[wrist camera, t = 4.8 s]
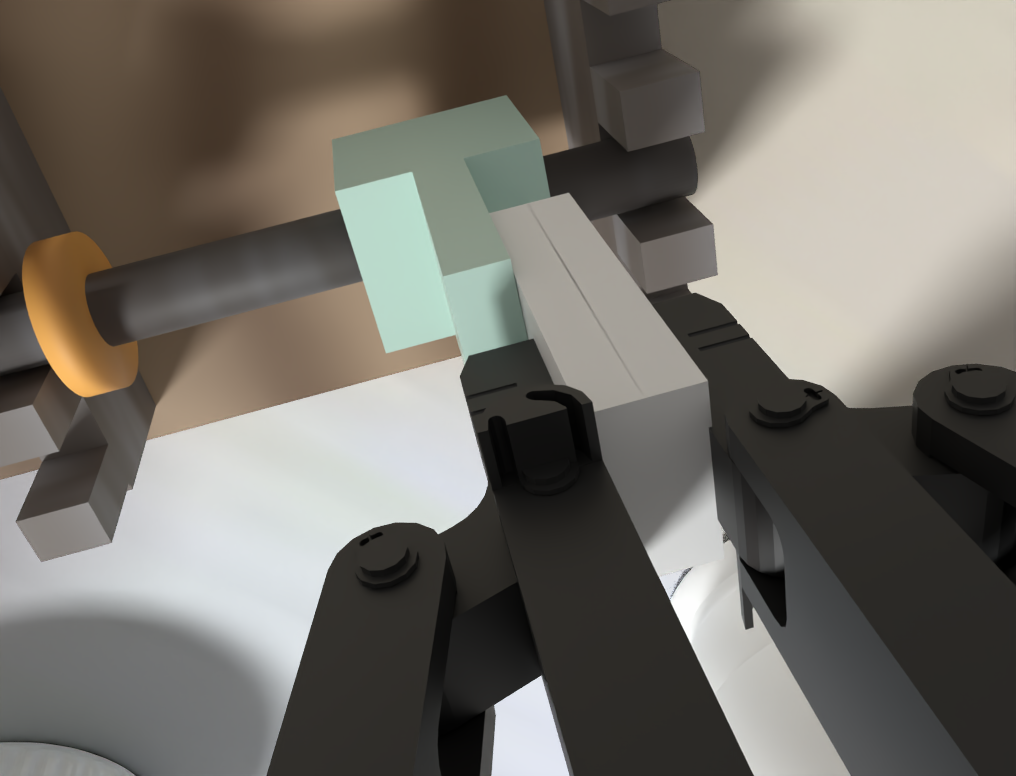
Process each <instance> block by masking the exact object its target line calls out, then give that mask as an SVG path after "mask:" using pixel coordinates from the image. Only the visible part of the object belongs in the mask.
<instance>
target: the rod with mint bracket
mask: <svg viewBox="0 0 1016 776" xmlns="http://www.w3.org/2000/svg"><path fill="white" fill-rule="evenodd" d="M666 1H670V0H0V480H1V479H4V478H8V477H12V476H15V475H19V474H23V473H27V472H30V471H34V470H38V469H39V470H38V472H37V475H36V477H35V479H34V482H33V484H32V486H31V488H30V491H29V493H28V495H27V497H26V500H25V502H24V504H23V506H22V509H21V511H20V513H19V515H18V518H17V520H16V523H17V525H18V526H19V528H20V530H21V531H22V533H23V534H24V536H25V537H26V539H27V541H28V542H29V544H30V545H31V547H32V548H33V550H34V551H35V553H36V555H37V556H38V558H39V559H40V561H41V562H44V561H47V560H51V559H54V558H58V557H62V556H65V555H69V554H73V553H76V552H80V551H84V550H87V549H91V548H95V547H98V546H102V545H106V544H109V543H112V540H113V536H114V533H115V530H116V526H117V523H118V519H119V516H120V512H121V509H122V505H123V502H124V499H125V495H126V492H127V491H128V490H131V489H133V485H134V482H135V478H136V475H137V471H138V468H139V464H140V461H141V457H142V454H143V450H144V447H145V443H146V440H150V439H153V438H157V437H161V436H164V435H168V434H172V433H176V432H179V431H183V430H187V429H190V428H194V427H198V426H202V425H205V424H209V423H213V422H217V421H220V420H224V419H228V418H231V417H235V416H239V415H243V414H246V413H250V412H254V411H258V410H261V409H265V408H269V407H272V406H276V405H280V404H284V403H287V402H291V401H295V400H298V399H302V398H306V397H310V396H313V395H317V394H321V393H325V392H328V391H332V390H336V389H339V388H343V387H347V386H351V385H354V384H358V383H362V382H365V381H369V380H373V379H377V378H380V377H384V376H388V375H392V374H395V373H399V372H403V371H406V370H410V369H414V368H418V367H421V366H425V365H429V364H433V363H436V362H440V361H444V360H447V359H451V358H455V357H459V356H461V352H460V349H459V345H458V342H457V338H456V335H453V336H449V337H446V338H442V339H438V340H435V341H431V342H427V343H423V344H420V345H416V346H412V347H408V348H405V349H401V350H397V351H393V352H390V353H386V352H385V349H384V345H383V342H382V339H381V336H380V333H379V330H378V326H377V323H376V320H375V317H374V314H373V311H372V307H371V304H370V301H369V298H368V295H367V292H366V289H365V285H364V282H363V279H362V276H361V273H360V270H359V266H358V263H357V260H356V257H355V254H354V251H353V247H352V244H351V241H350V238H349V235H348V232H347V228H346V225H345V222H344V219H343V216H342V213H341V209H340V206H339V203H338V200H337V197H336V194H335V186H334V168H333V150H332V139H336V138H340V137H344V136H348V135H352V134H356V133H360V132H364V131H368V130H372V129H375V128H379V127H383V126H387V125H391V124H395V123H399V122H403V121H407V120H411V119H415V118H418V117H422V116H426V115H430V114H434V113H438V112H442V111H446V110H450V109H454V108H458V107H462V106H465V105H469V104H473V103H477V102H481V101H485V100H489V99H493V98H497V97H501V96H505V95H507V96H508V98H509V99H510V100H511V102H512V103H513V104H514V106H515V107H516V108H517V110H518V111H519V112H520V114H521V115H522V116H523V118H524V119H525V120H526V122H527V123H528V124H529V125H530V127H531V128H532V129H533V131H534V132H535V133H536V135H537V136H538V137H539V139H540V144H541V149H542V155H543V160H544V165H545V171H546V176H547V181H548V187H549V192H550V197H554V196H558V195H562V194H566V193H569V194H570V195H571V196H572V198H573V199H574V200H575V202H576V203H577V204H578V206H579V207H580V208H581V210H582V211H583V212H584V214H585V215H586V217H587V218H588V219H589V221H590V222H591V223H592V225H593V226H594V227H595V229H596V230H597V231H598V233H599V234H600V236H601V237H602V238H603V240H604V241H605V242H606V244H607V245H608V246H609V248H610V249H611V250H612V252H613V253H614V254H615V256H616V257H617V259H618V260H619V261H620V263H621V264H622V265H623V267H624V268H625V269H626V271H627V272H628V273H629V275H630V276H631V277H632V279H633V280H634V282H635V283H636V284H637V286H638V287H639V288H640V290H641V291H642V292H643V294H644V295H645V296H646V298H647V299H648V300H649V302H650V303H651V304H655V303H659V302H663V301H666V300H670V299H674V298H678V297H681V296H685V295H689V294H692V293H691V292H690V291H689V290H688V286H687V283H690V282H693V281H697V280H701V279H705V278H708V277H712V276H716V275H718V273H717V262H716V250H715V239H714V228H713V224H712V223H711V222H710V221H709V220H708V219H707V218H706V217H705V216H704V215H703V214H702V213H701V212H700V211H699V210H698V209H697V208H696V207H695V206H694V205H693V204H692V203H690V202H689V201H688V200H687V199H686V198H685V197H684V196H688V195H692V194H694V193H695V191H696V189H697V182H698V173H697V163H696V157H695V153H694V149H693V145H692V142H691V139H690V137H689V136H691V135H695V134H699V133H702V132H705V126H704V115H703V104H702V93H701V81H700V71H698V70H697V69H695V68H693V67H692V66H690V65H688V64H687V63H685V62H683V61H682V60H680V59H678V58H677V57H675V56H673V55H671V54H670V53H668V52H666V51H665V50H663V49H662V47H661V38H660V29H659V20H658V10H657V4H658V3H662V2H666Z"/></svg>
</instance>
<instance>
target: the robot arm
mask: <svg viewBox="0 0 1016 776" xmlns="http://www.w3.org/2000/svg"><path fill="white" fill-rule="evenodd" d="M489 214H490V216H491V218H492V221H493V223H494V225H495V227H496V229H497V231H498V233H499V235H500V238H501V240H502V242H503V244H504V246H505V248H506V250H507V253H508V255H509V257H510V259H511V264H512V268H513V273H514V277H515V282H516V287H517V291H518V296H519V300H520V305H521V309H522V314H523V319H524V323H525V328H526V332H527V337H528V340H526V341H522V342H518V343H514V344H511V345H507V346H503V347H499V348H496V349H492V350H488V351H484V352H481V353H477V354H473V355H469V356H468V358H467V361H466V363H465V365H464V368H463V370H462V373H461V375H460V379H461V383H462V387H463V391H464V394H465V398H466V402H467V406H468V409H469V413H470V417H471V421H472V425H473V428H474V432H475V436H476V440H477V443H478V447H479V451H480V455H481V458H482V462H483V466H484V469H485V473H486V476H487V480H488V487H487V490H486V493H485V496H484V498H483V499H482V501H481V502H480V504H479V505H478V507H477V508H476V509H475V510H474V511H473V512H472V513H471V514H470V515H469V516H468V517H467V518H465V519H464V520H462V521H461V522H459V523H458V524H456V525H455V526H453V527H451V528H449V529H448V530H446V531H444V532H442V533H440V534H437V533H436V532H435V531H434V529H431V528H428V527H426V526H423V525H420V524H418V523H392V524H388V525H384V526H380V527H376V528H373V529H371V530H369V531H367V532H365V533H363V534H361V535H359V536H358V537H356V538H354V539H352V540H351V541H350V542H349V543H348V544H347V545H346V546H345V547H344V548H343V549H341V550H340V551H339V552H338V553H337V555H336V556H335V558H334V560H333V562H332V564H331V566H330V567H329V569H328V572H327V575H326V578H325V582H324V585H323V588H322V592H321V595H320V599H319V602H318V605H317V609H316V612H315V615H314V619H313V622H312V625H311V629H310V632H309V635H308V639H307V642H306V645H305V649H304V652H303V655H302V659H301V662H300V665H299V669H298V672H297V675H296V679H295V682H294V685H293V689H292V692H291V696H290V699H289V702H288V706H287V709H286V712H285V716H284V719H283V722H282V726H281V729H280V732H279V736H278V739H277V742H276V746H275V749H274V752H273V756H272V759H271V762H270V766H269V769H268V772H267V776H491V772H492V758H493V745H494V731H495V717H496V715H495V709H494V705H495V704H496V703H498V702H499V701H501V700H503V699H504V698H506V697H507V696H509V695H511V694H512V693H514V692H515V691H517V690H519V689H520V688H522V687H523V686H525V685H527V684H528V683H530V682H531V681H533V680H535V679H536V678H538V677H539V676H541V675H542V679H543V682H544V686H545V690H546V693H547V697H548V700H549V704H550V707H551V711H552V714H553V718H554V722H555V725H556V729H557V732H558V736H559V739H560V743H561V746H562V750H563V753H564V757H565V761H566V764H567V768H568V771H569V775H570V776H754V775H753V773H752V771H751V769H750V767H749V764H748V762H747V760H746V758H745V756H744V754H743V752H742V750H741V748H740V746H739V744H738V742H737V739H736V737H735V735H734V733H733V731H732V729H731V727H730V725H729V723H728V721H727V719H726V716H725V714H724V712H723V710H722V708H721V706H720V704H719V702H718V700H717V698H716V696H715V693H714V691H713V689H712V687H711V685H710V683H709V681H708V679H707V677H706V675H705V673H704V671H703V668H702V666H701V664H700V662H699V660H698V658H697V656H696V654H695V652H694V650H693V648H692V645H691V643H690V641H689V639H688V637H687V635H686V633H685V631H684V629H683V627H682V625H681V622H680V620H679V618H678V616H677V614H676V612H675V610H674V608H673V606H672V604H671V602H670V600H669V597H668V595H667V593H666V591H665V589H664V587H663V585H662V583H661V581H660V579H659V577H660V576H664V575H667V574H671V573H674V572H678V571H681V570H685V569H688V568H692V567H695V566H699V565H702V564H706V563H710V562H713V561H717V560H720V559H724V558H725V556H724V546H723V535H722V527H723V529H724V531H725V532H726V534H727V536H728V537H729V539H730V541H731V542H732V544H733V546H734V547H735V549H736V556H737V568H738V580H739V591H740V603H741V615H742V619H743V623H744V627H745V630H747V629H750V628H754V623H753V610H752V609H753V607H754V609H755V610H756V612H757V614H758V616H759V617H760V619H761V621H762V623H763V624H764V626H765V628H766V630H767V631H768V633H769V635H770V636H771V638H772V640H773V642H774V643H775V645H776V647H777V649H778V650H779V652H780V654H781V656H782V657H783V659H784V661H785V663H786V664H787V666H788V668H789V669H790V671H791V673H792V675H793V676H794V678H795V680H796V682H797V683H798V685H799V687H800V689H801V690H802V692H803V694H804V695H805V697H806V699H807V701H808V702H809V704H810V706H811V708H812V709H813V711H814V713H815V715H816V716H817V718H818V720H819V721H820V723H821V725H822V727H823V728H824V730H825V732H826V734H827V735H828V737H829V739H830V741H831V742H832V744H833V746H834V747H835V749H836V751H837V753H838V754H839V756H840V758H841V760H842V761H843V763H844V765H845V767H846V768H847V770H848V772H849V773H850V775H851V776H1016V372H1014V371H1011V370H1008V369H1005V368H1002V367H997V366H989V365H981V364H967V365H955V366H950V367H946V368H943V369H940V370H936V371H933V372H931V373H930V374H928V375H927V376H926V377H924V378H923V379H921V380H920V381H919V382H918V384H917V386H916V389H915V391H914V393H913V406H901V407H886V408H847V407H846V406H845V405H844V404H843V403H842V401H841V400H840V399H839V398H838V397H837V396H836V395H834V394H833V393H832V392H830V391H829V390H827V389H826V388H824V387H823V386H821V385H817V384H814V383H811V382H807V381H804V380H794V379H788V378H787V376H786V375H785V374H784V373H783V372H782V371H781V370H780V369H779V367H778V366H777V365H776V364H775V363H774V362H773V361H772V360H771V358H770V357H769V356H768V355H767V354H766V353H765V352H764V351H763V349H762V348H761V347H760V346H759V345H758V344H757V343H756V342H755V341H754V339H753V338H750V337H749V334H748V333H747V332H746V330H745V329H744V328H743V327H742V326H741V325H740V324H737V320H736V319H735V318H734V317H733V316H732V315H731V314H730V312H729V311H728V310H727V309H726V308H725V307H724V306H723V305H722V304H721V303H719V302H716V301H714V300H711V299H709V298H707V297H704V296H702V295H700V294H697V293H693V294H689V295H685V296H681V297H678V298H674V299H670V300H666V301H663V302H659V303H655V304H651V303H650V302H649V300H648V299H647V298H646V296H645V295H644V294H643V292H642V291H641V290H640V288H639V287H638V286H637V284H636V283H635V282H634V280H633V279H632V277H631V276H630V275H629V273H628V272H627V271H626V269H625V268H624V267H623V265H622V264H621V263H620V261H619V260H618V259H617V257H616V256H615V254H614V253H613V252H612V250H611V249H610V248H609V246H608V245H607V244H606V242H605V241H604V240H603V238H602V237H601V236H600V234H599V233H598V231H597V230H596V229H595V227H594V226H593V225H592V223H591V222H590V221H589V219H588V218H587V217H586V215H585V214H584V212H583V211H582V210H581V208H580V207H579V206H578V204H577V203H576V202H575V200H574V199H573V198H572V196H571V195H570V194H569V193H566V194H562V195H558V196H554V197H550V198H546V199H542V200H538V201H535V202H531V203H527V204H523V205H519V206H515V207H511V208H507V209H504V210H500V211H496V212H492V213H489Z"/></svg>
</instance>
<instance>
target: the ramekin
mask: <svg viewBox="0 0 1016 776" xmlns="http://www.w3.org/2000/svg"><path fill="white" fill-rule="evenodd" d="M0 776H135V775H134V774H133V773H131V772H130V771H129V770H127V769H126V768H124V767H122V766H120V765H119V764H116V763H114V762H112V761H110V760H108V759H106V758H103V757H100V756H98V755H95V754H92V753H89V752H86V751H82V750H79V749H75V748H71V747H65V746H58V745H53V744H45V743H32V742H1V743H0Z"/></svg>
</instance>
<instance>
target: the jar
mask: <svg viewBox="0 0 1016 776" xmlns="http://www.w3.org/2000/svg"><path fill="white" fill-rule="evenodd" d="M723 546H724V556H725V558H724V559H720V560H717V561H713V562H710V563H706V564H702V565H699V566H695V567H693V568H692V569H691V570H690V571H689V572H688V573H687V575H686V576H685V577H684V578H683V580H682V581H681V582H680V584H679V586H678V587H677V589H676V590H675V592H674V594H673V596H672V598H671V601H670V602H671V604H672V606H673V608H674V610H675V612H676V614H677V616H678V618H679V620H680V622H681V625H682V627H683V629H684V631H685V633H686V635H687V637H688V639H689V641H690V643H691V645H692V648H693V650H694V652H695V654H696V656H697V658H698V660H699V662H700V664H701V666H702V668H703V671H704V673H705V675H706V677H707V679H708V681H709V683H710V685H711V687H712V689H713V691H714V693H715V696H716V698H717V700H718V702H719V704H720V706H721V708H722V710H723V712H724V714H725V716H726V719H727V721H728V723H729V725H730V727H731V729H732V731H733V733H734V735H735V737H736V739H737V742H738V744H739V746H740V748H741V750H742V752H743V754H744V756H745V758H746V760H747V762H748V764H749V767H750V769H751V771H752V773H753V775H754V776H851V775H850V773H849V772H848V770H847V768H846V767H845V765H844V763H843V761H842V760H841V758H840V756H839V754H838V753H837V751H836V749H835V747H834V746H833V744H832V742H831V741H830V739H829V737H828V735H827V734H826V732H825V730H824V728H823V727H822V725H821V723H820V721H819V720H818V718H817V716H816V715H815V713H814V711H813V709H812V708H811V706H810V704H809V702H808V701H807V699H806V697H805V695H804V694H803V692H802V690H801V689H800V687H799V685H798V683H797V682H796V680H795V678H794V676H793V675H792V673H791V671H790V669H789V668H788V666H787V664H786V663H785V661H784V659H783V657H782V656H781V654H780V652H779V650H778V649H777V647H776V645H775V643H774V642H773V640H772V638H771V636H770V635H769V633H768V631H767V630H766V628H765V626H764V624H763V623H762V621H761V619H760V617H759V616H758V614H757V612H756V610H755V609H754V607H753V609H752V610H753V623H754V628H750V629H747V630H745V627H744V623H743V619H742V615H741V603H740V591H739V580H738V568H737V556H736V549H735V547H734V546H733V544H732V542H731V541H730V540H728V541H727V542H725V543H723Z"/></svg>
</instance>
